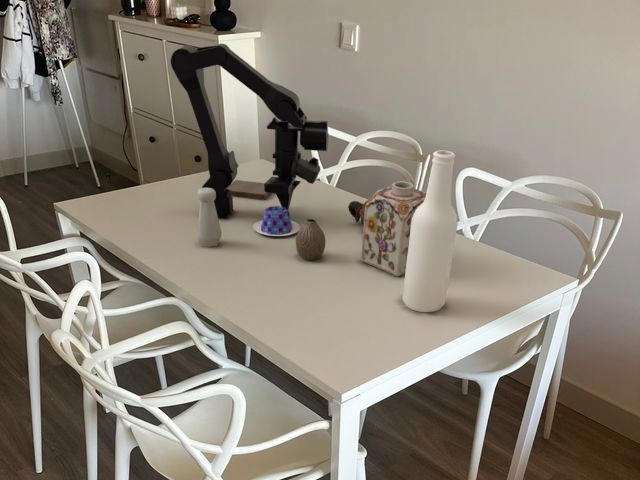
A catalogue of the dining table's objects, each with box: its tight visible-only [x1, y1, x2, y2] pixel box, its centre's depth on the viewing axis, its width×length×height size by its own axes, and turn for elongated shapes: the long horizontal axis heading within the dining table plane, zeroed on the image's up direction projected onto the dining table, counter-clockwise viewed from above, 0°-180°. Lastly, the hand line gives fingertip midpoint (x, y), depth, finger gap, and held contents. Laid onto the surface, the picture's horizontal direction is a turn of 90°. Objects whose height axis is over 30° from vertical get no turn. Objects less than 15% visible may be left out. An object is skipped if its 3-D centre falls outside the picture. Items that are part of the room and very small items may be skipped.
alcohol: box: [401, 149, 459, 313], centre depth 129 cm, size 9×9×30 cm
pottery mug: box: [347, 199, 370, 223], centre depth 170 cm, size 12×10×8 cm
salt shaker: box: [196, 187, 222, 248], centre depth 156 cm, size 6×6×13 cm
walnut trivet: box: [227, 179, 272, 201], centre depth 191 cm, size 12×10×2 cm
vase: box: [295, 218, 326, 261], centre depth 153 cm, size 7×7×9 cm
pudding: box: [252, 205, 301, 237], centre depth 167 cm, size 12×12×5 cm
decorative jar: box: [360, 180, 427, 277], centre depth 149 cm, size 12×12×18 cm
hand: (286, 210), depth 174 cm, fingers closed
